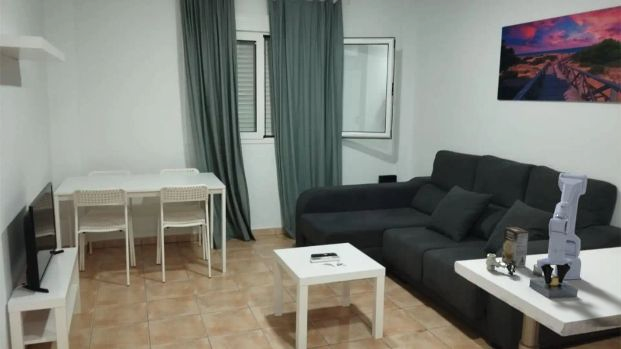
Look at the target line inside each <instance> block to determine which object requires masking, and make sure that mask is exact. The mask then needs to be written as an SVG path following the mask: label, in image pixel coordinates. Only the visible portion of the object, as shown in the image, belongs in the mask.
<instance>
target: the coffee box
mask: <svg viewBox="0 0 621 349" xmlns="http://www.w3.org/2000/svg"><path fill="white" fill-rule="evenodd" d="M528 241H529V231H527V230H525V229H522V228H520V227H517V226H509V227H504V233H503V243H502V254H501V262H503V263H504V264H506V265H507V264H509V263H512V262H511V260H514V261H516V264H515V265H516V266H517V267H516V268H521V267H522V268H523V267H526V261H527V252H528V251H527V250H528ZM512 266H513V265H512Z"/></svg>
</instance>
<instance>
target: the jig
mask: <svg viewBox="0 0 621 349" xmlns="http://www.w3.org/2000/svg"><path fill="white" fill-rule="evenodd" d="M528 287H529V288H531V289H533V290H534V291H536V292H537V293H539V294H541V295H542V296H544V297H545V298H548V299H561V298H577V297H578V293H579V292H578V290H579V289H578V288H577V287H574V286H572V284H569V283H567V282H565V281H563V282H562V283H558V287H553V286H549V285H547V283H546V282H545V278H533V279H532V278H531V279H529V286H528Z"/></svg>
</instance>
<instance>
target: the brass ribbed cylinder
mask: <svg viewBox="0 0 621 349" xmlns="http://www.w3.org/2000/svg"><path fill="white" fill-rule="evenodd" d="M558 283H559V277H558V276H555V275H551V282H550V284H547V285H549V286H553V287H558Z"/></svg>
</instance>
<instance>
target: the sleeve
mask: <svg viewBox="0 0 621 349" xmlns="http://www.w3.org/2000/svg"><path fill="white" fill-rule="evenodd" d="M532 272H533V274H532V275H533V276H536V277H542V276H544V274H543V271H542V268H541V266H539V265H537V264H533V270H532Z"/></svg>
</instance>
